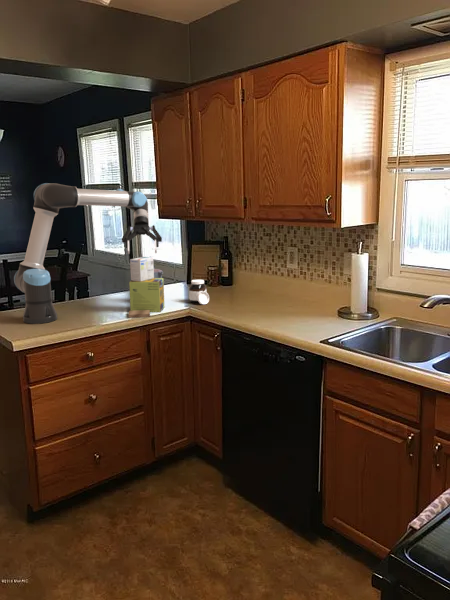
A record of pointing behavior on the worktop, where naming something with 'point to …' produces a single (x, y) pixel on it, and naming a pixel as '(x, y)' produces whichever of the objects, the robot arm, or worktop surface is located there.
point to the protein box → (147, 295)
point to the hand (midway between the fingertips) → (142, 252)
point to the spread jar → (198, 292)
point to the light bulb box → (142, 268)
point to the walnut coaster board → (139, 313)
